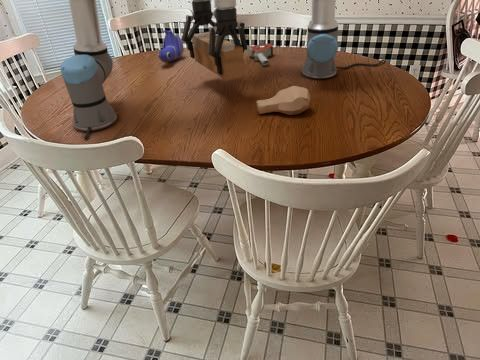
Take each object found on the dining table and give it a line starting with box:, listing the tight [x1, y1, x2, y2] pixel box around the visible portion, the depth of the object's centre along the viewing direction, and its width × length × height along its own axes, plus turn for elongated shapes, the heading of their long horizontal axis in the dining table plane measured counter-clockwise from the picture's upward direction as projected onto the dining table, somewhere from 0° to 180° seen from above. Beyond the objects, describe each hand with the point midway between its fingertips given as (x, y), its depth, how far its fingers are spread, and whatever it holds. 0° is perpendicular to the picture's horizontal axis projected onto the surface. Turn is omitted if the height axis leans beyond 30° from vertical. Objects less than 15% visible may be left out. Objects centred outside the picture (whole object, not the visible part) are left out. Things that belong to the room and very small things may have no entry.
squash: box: [255, 85, 312, 116], centre depth 130 cm, size 11×20×9 cm, turn 92°
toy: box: [157, 30, 185, 67], centre depth 184 cm, size 10×17×25 cm
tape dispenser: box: [247, 43, 274, 67], centre depth 182 cm, size 18×5×20 cm
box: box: [191, 31, 245, 81], centre depth 143 cm, size 30×8×11 cm, turn 29°
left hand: (229, 71), depth 138 cm, fingers closed on box, 8 cm apart
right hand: (207, 54), depth 153 cm, fingers open, 13 cm apart
